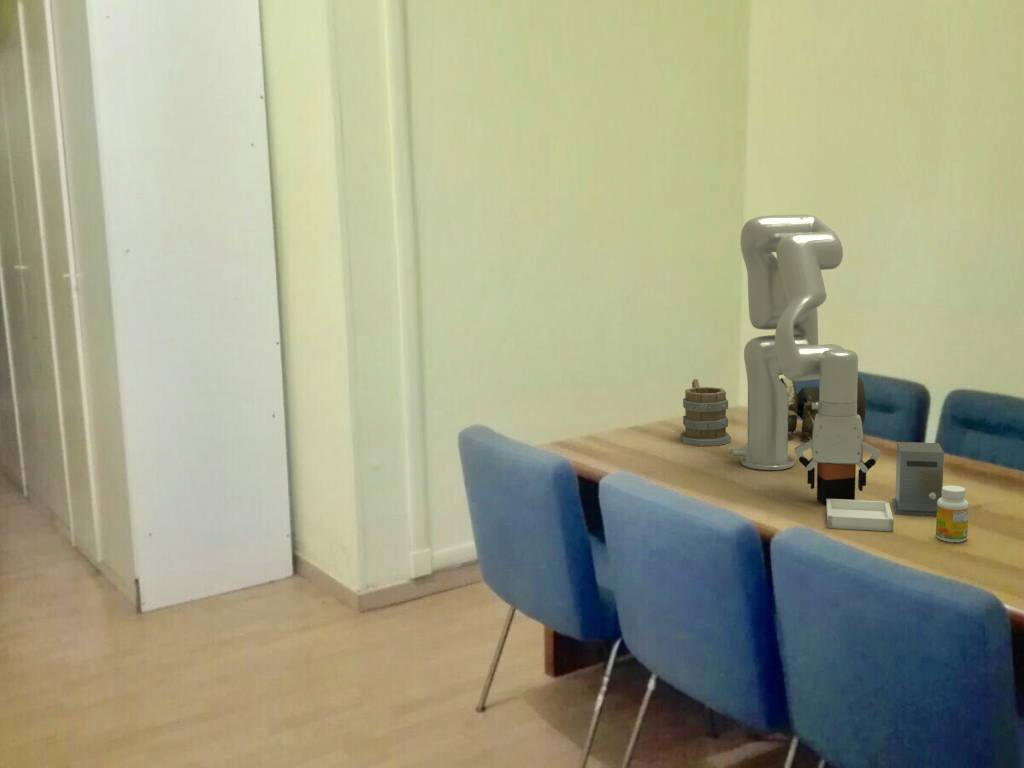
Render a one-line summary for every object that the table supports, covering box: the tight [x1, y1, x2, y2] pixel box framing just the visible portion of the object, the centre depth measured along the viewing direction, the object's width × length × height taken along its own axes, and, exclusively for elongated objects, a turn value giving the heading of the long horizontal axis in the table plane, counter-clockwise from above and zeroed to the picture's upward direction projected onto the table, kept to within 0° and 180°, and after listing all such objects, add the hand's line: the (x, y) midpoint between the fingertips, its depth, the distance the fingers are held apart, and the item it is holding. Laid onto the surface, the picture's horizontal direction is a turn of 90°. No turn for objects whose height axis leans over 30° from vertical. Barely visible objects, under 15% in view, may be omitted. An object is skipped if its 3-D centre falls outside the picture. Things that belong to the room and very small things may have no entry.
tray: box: [825, 499, 895, 532], centre depth 196 cm, size 12×12×2 cm
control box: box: [891, 441, 945, 517], centre depth 201 cm, size 9×9×13 cm
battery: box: [816, 463, 857, 506], centre depth 207 cm, size 4×7×10 cm, turn 100°
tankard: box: [680, 378, 732, 447], centre depth 268 cm, size 20×13×15 cm, turn 179°
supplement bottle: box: [935, 485, 970, 543], centre depth 183 cm, size 5×5×10 cm
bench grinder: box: [779, 376, 867, 442], centre depth 263 cm, size 20×22×20 cm
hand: (836, 488), depth 208 cm, fingers open, 9 cm apart
